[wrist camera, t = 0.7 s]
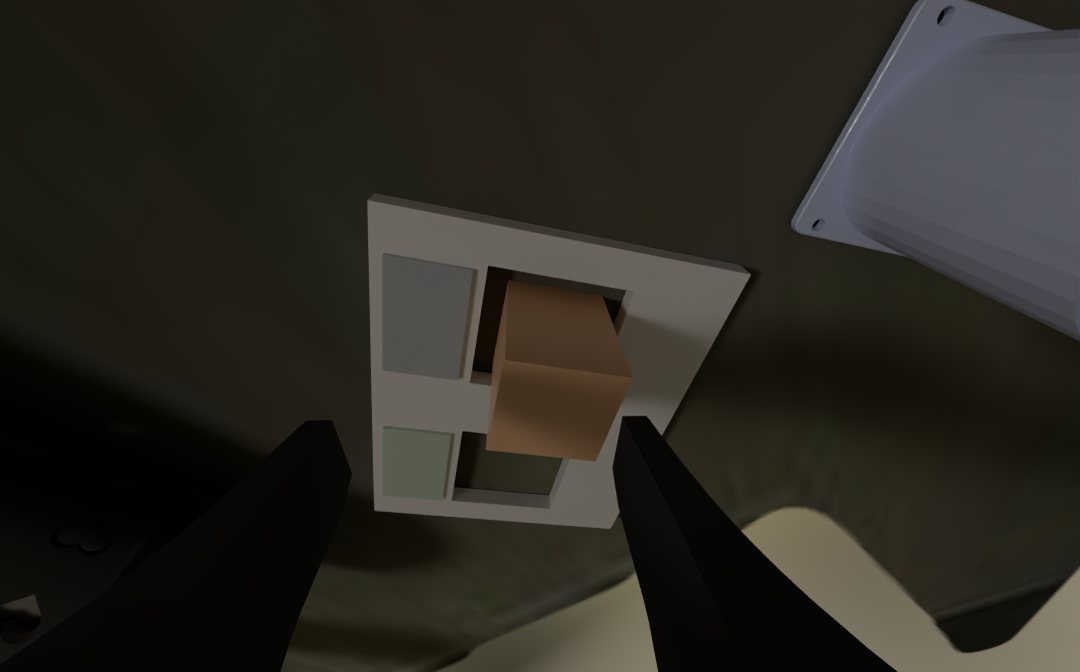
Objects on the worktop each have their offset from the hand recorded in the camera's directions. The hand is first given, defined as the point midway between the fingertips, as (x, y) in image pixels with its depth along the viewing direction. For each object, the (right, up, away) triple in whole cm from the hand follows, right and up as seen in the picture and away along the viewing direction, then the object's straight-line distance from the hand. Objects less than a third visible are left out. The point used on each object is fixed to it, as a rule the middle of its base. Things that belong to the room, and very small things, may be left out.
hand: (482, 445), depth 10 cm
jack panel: (+1, -1, +12) cm, 12 cm away
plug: (+2, +3, +9) cm, 10 cm away
